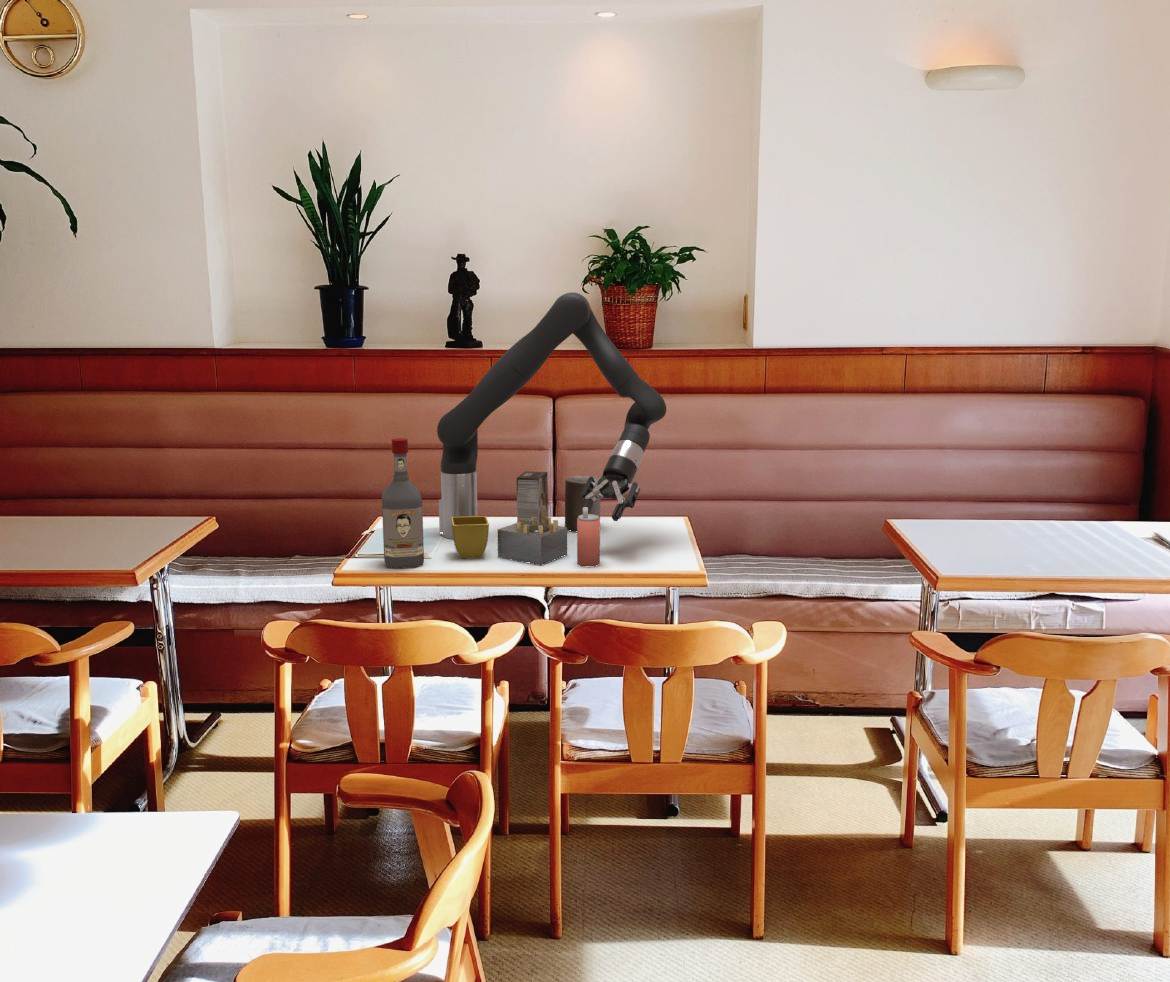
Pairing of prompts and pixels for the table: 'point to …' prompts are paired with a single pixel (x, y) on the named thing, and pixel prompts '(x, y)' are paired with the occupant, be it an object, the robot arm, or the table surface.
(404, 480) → the liquor
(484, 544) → the flower pot
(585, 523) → the spout can
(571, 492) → the pillar candle
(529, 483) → the coffee box
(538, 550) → the grey block
